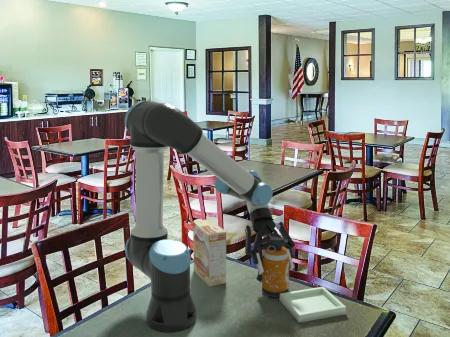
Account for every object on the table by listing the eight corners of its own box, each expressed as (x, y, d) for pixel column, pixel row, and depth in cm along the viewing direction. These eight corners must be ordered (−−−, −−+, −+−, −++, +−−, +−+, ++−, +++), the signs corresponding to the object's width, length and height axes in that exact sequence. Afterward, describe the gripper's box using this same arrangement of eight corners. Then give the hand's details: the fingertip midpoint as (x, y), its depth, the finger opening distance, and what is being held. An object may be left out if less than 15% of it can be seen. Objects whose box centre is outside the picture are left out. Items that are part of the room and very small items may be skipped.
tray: (299, 322, 138) (299, 315, 137) (279, 300, 151) (279, 293, 150) (345, 314, 143) (346, 306, 142) (322, 293, 156) (323, 286, 155)
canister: (287, 300, 151) (289, 243, 146) (254, 296, 153) (254, 240, 148) (289, 287, 159) (290, 233, 155) (257, 284, 162) (258, 230, 157)
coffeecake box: (192, 270, 173) (192, 221, 169) (210, 266, 176) (210, 218, 172) (208, 287, 160) (208, 234, 155) (226, 283, 163) (227, 231, 158)
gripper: (285, 213, 169) (303, 270, 158) (226, 219, 162) (241, 279, 151) (292, 203, 163) (311, 262, 152) (231, 209, 156) (247, 271, 145)
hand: (276, 270), depth 152 cm, fingers closed on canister, 10 cm apart
